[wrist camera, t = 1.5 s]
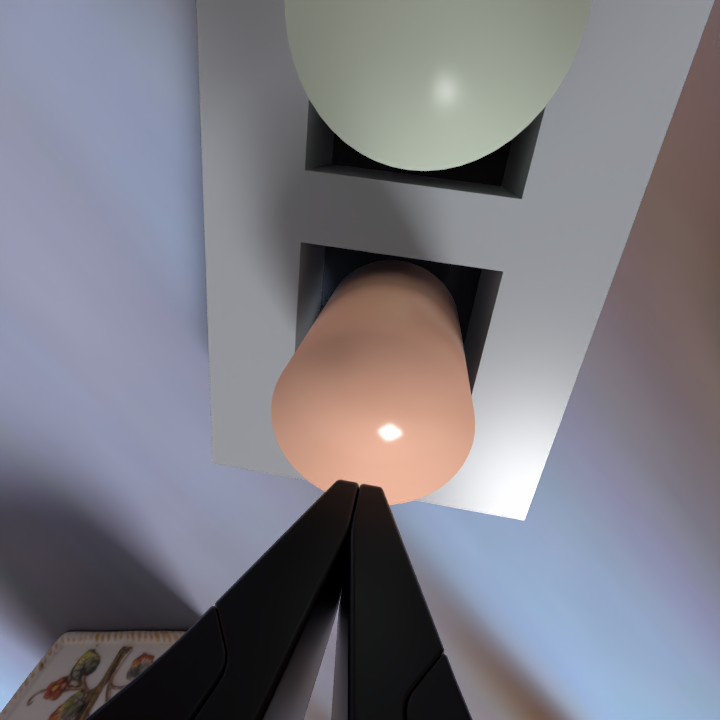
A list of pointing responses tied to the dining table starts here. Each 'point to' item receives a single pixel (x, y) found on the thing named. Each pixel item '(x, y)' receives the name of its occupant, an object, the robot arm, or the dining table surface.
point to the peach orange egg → (379, 386)
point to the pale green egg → (432, 71)
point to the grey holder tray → (428, 229)
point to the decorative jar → (85, 673)
